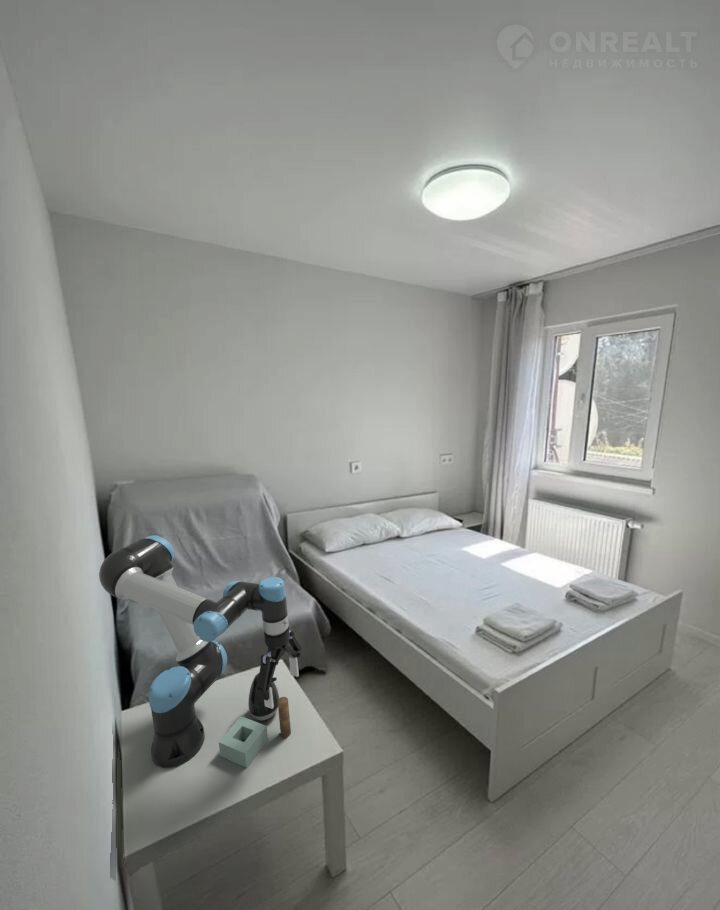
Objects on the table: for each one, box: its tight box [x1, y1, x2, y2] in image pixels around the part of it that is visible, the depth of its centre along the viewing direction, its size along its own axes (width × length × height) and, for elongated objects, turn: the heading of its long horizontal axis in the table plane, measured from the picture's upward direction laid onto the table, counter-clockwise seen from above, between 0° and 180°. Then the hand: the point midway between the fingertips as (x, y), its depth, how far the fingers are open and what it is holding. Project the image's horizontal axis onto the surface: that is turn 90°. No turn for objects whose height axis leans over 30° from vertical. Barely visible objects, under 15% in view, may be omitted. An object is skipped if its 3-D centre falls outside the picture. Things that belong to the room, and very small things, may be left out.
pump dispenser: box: [247, 672, 280, 721], centre depth 133 cm, size 10×10×15 cm
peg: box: [277, 696, 292, 739], centre depth 125 cm, size 3×3×12 cm
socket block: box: [218, 716, 269, 769], centre depth 122 cm, size 10×10×5 cm
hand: (282, 690), depth 124 cm, fingers open, 13 cm apart
